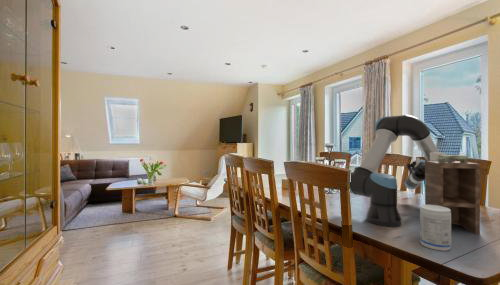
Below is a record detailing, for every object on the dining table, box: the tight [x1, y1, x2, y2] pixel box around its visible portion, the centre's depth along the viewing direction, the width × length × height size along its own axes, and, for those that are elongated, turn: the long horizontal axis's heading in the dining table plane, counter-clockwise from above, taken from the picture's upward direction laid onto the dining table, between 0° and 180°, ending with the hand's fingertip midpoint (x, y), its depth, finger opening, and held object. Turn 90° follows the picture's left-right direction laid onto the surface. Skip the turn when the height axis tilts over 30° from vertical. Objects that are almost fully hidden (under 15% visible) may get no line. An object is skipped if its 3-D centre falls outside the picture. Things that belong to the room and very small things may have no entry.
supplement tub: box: [419, 204, 452, 252], centre depth 94 cm, size 10×10×15 cm
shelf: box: [424, 154, 481, 235], centre depth 114 cm, size 15×14×33 cm
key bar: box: [430, 152, 456, 162], centre depth 121 cm, size 4×18×4 cm, turn 166°
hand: (433, 160), depth 131 cm, fingers open, 13 cm apart
